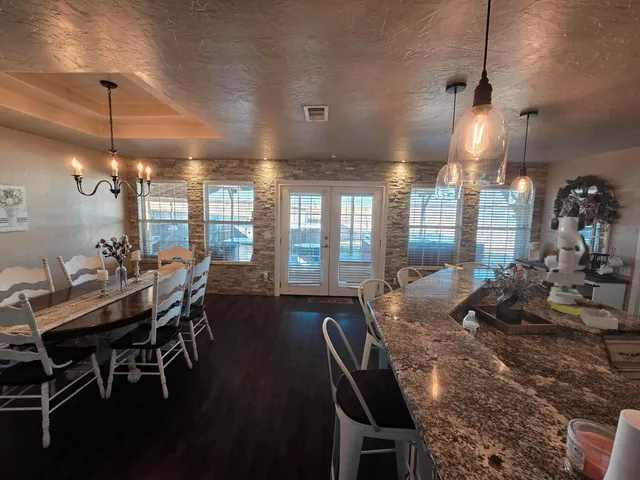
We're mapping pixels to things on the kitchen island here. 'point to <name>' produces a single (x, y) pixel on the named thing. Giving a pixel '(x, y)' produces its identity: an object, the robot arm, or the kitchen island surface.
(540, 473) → the kitchen island surface
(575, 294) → the green lid
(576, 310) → the plastic component
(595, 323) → the white open box
